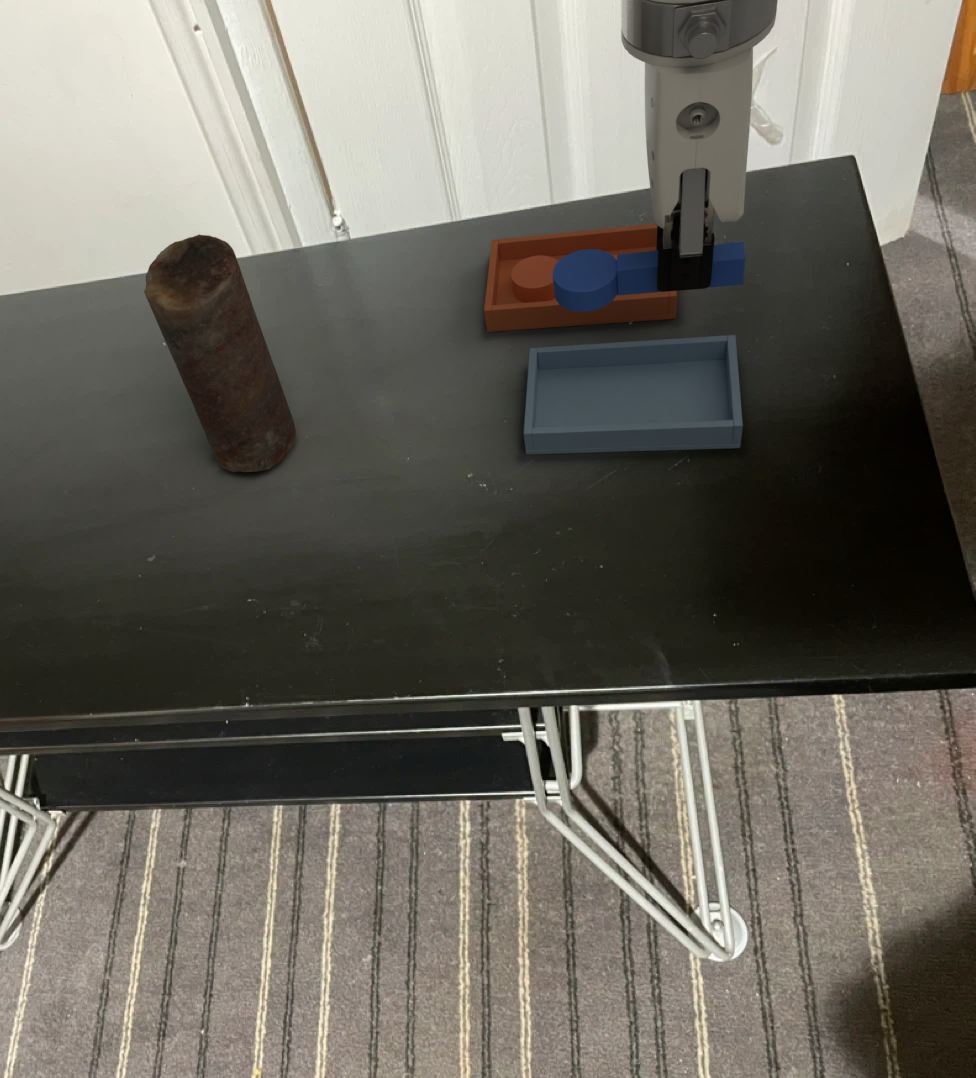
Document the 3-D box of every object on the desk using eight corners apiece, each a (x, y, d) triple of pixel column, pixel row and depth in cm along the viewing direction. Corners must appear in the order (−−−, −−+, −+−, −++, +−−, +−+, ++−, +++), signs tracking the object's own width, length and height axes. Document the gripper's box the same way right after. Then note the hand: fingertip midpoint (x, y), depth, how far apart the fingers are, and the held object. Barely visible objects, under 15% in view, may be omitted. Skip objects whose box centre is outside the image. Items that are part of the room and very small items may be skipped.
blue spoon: (740, 254, 68) (742, 227, 66) (744, 298, 66) (747, 271, 64) (555, 272, 72) (553, 247, 70) (553, 314, 70) (551, 289, 68)
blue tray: (733, 358, 81) (735, 334, 79) (740, 448, 76) (742, 425, 74) (531, 369, 86) (529, 347, 84) (526, 454, 81) (523, 433, 79)
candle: (313, 419, 89) (247, 232, 74) (287, 485, 86) (212, 303, 71) (234, 414, 93) (155, 234, 77) (206, 478, 89) (117, 302, 74)
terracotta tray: (673, 245, 90) (674, 221, 88) (676, 318, 85) (677, 295, 83) (494, 261, 95) (491, 239, 93) (487, 332, 90) (483, 310, 88)
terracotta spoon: (654, 261, 88) (655, 240, 87) (655, 294, 86) (655, 273, 84) (514, 273, 92) (512, 253, 91) (511, 305, 90) (509, 286, 88)
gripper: (792, 75, 48) (754, 358, 62) (766, -89, 56) (738, 192, 71) (621, 98, 50) (621, 365, 65) (621, -62, 59) (621, 204, 73)
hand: (682, 273), depth 68 cm, fingers closed on blue spoon, 1 cm apart
